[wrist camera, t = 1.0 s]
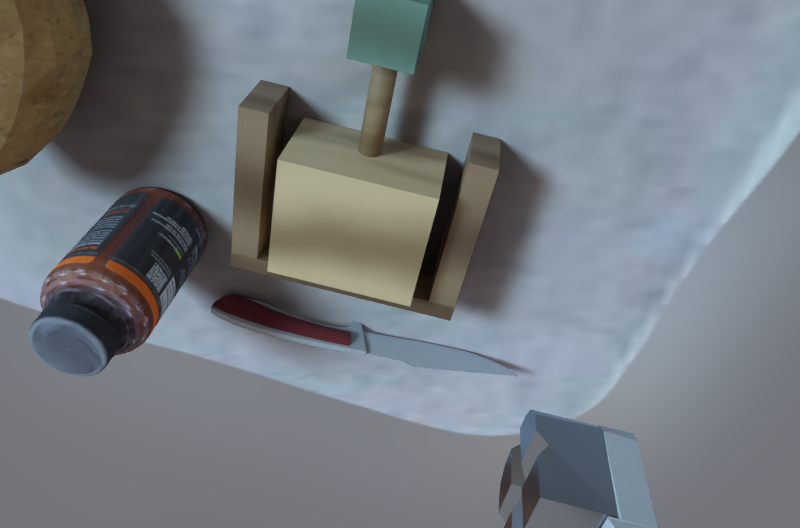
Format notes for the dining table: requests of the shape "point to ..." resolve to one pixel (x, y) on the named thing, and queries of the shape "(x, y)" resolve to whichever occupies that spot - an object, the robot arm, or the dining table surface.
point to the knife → (348, 337)
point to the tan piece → (256, 197)
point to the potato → (39, 73)
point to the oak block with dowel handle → (361, 176)
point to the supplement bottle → (117, 281)
